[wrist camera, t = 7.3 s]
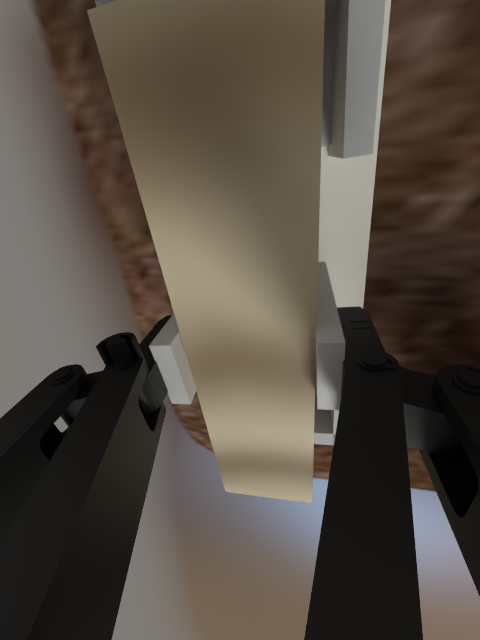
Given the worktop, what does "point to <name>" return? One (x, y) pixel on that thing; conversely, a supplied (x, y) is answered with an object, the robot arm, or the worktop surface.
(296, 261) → the rail
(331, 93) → the bracket board
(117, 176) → the worktop surface
